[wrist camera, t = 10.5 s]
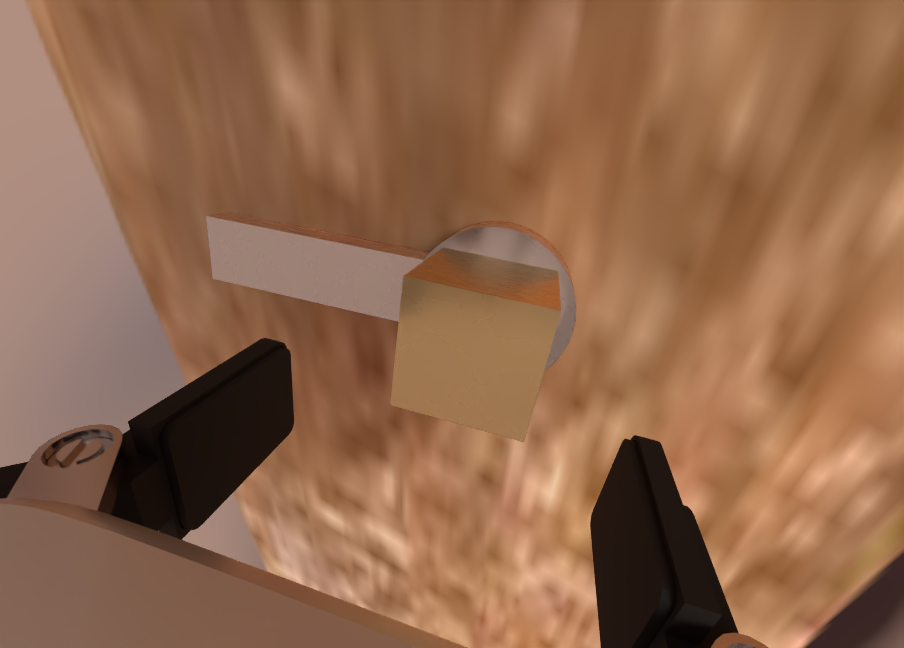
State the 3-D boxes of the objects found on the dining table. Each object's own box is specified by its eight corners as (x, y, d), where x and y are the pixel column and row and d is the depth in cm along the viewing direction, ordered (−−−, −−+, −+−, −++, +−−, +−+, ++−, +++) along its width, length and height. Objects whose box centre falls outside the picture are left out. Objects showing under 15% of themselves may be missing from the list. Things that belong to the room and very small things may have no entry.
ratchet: (226, 171, 24) (133, 172, 19) (593, 237, 21) (608, 261, 15) (238, 304, 28) (162, 337, 22) (551, 380, 24) (552, 441, 19)
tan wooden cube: (442, 247, 20) (402, 276, 15) (558, 270, 19) (561, 310, 14) (428, 348, 23) (390, 404, 17) (530, 373, 22) (523, 441, 16)
